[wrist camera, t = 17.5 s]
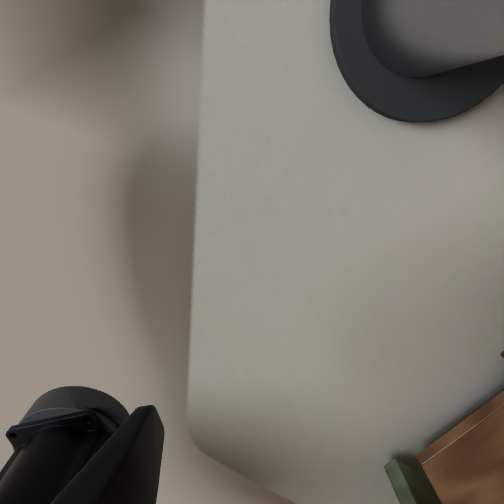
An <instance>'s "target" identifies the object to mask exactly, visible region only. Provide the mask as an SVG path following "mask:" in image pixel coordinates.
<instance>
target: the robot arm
mask: <svg viewBox="0 0 504 504" xmlns="http://www.w3.org/2000/svg"><path fill="white" fill-rule="evenodd" d="M88 417H89V418H88ZM6 437H7V438H8V440H9V441H10V442H11V444H12V446H13V447H14V448H15V451H14V453H13V454H12V456H11V457H10V459H9V460H8V461H7V463H6V464H5V466H4V467H3V469H2V470H1V472H0V504H156V498H157V492H158V484H159V475H160V466H161V459H162V451H163V442H164V427H163V424H162V421H161V419H160V417H159V414H158V412H157V410H156V408H155V406H153V405H148V406H141V407H138V408H137V409H135V411H134V412H133V413H132V414H131V415H130V416H129V417H128V418H127V419H126V420H125V422H124V423H123V424H122V425H121V426H120V427H119V428H118V429H117V430H116V432H115V433H114V434H113V435H112V436H111V437H110V438H109V436H108V435H107V433H106V431H105V429H104V427H103V425H102V424H101V422H100V420H99V418H98V416H97V414H96V413H95V412H94V411H92V410H84V411H79V412H75V413H70V414H65V415H61V416H56V417H51V418H47V419H42V420H37V421H33V422H28V423H23V424H19V425H14V426H11V427H10V428H9V430H8V431H7V433H6Z"/></svg>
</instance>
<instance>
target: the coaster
mask: <svg viewBox="0 0 504 504" xmlns="http://www.w3.org/2000/svg"><path fill="white" fill-rule="evenodd" d="M330 34H331V41H332V46H333V52H334V55H335V58H336V61H337V65H338V67H339V69H340V71H341V73H342V76H343V78H344V79H345V81H346V83H347V84H348V86H349V87H350V89H351V90H352V91H353V92H354V94H355V95H356V96H357V97H358V98H359V99H360V100H361V101H362V102H363V103H364V104H365V105H366V106H368V107H369V108H371V109H372V110H374V111H375V112H377V113H379V114H381V115H383V116H385V117H388V118H391V119H394V120H398V121H404V122H431V121H437V120H443V119H446V118H449V117H453V116H456V115H458V114H460V113H462V112H465V111H467V110H469V109H470V108H472V107H474V106H475V105H477V104H479V103H480V102H482V101H483V100H484V99H486V98H487V97H488V96H490V95H491V94H492V93H493V92H494V91H495V90H497V89H498V88H499V87H500V86H501V85H502V84H503V83H504V55H502V56H498V57H495V58H491V59H488V60H484V61H480V62H477V63H473V64H470V65H466V66H463V67H459V68H456V69H452V70H449V71H445V72H442V73H438V74H435V75H431V76H427V77H420V78H411V77H405V76H401V75H398V74H396V73H394V72H392V71H390V70H388V69H387V68H386V67H384V66H383V65H382V64H381V63H380V62H379V61H378V60H377V58H376V57H375V56H374V54H373V53H372V51H371V49H370V47H369V46H368V43H367V40H366V38H365V34H364V30H363V24H362V0H331V2H330Z"/></svg>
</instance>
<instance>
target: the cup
mask: <svg viewBox="0 0 504 504" xmlns="http://www.w3.org/2000/svg"><path fill="white" fill-rule="evenodd" d="M362 24H363V30H364V34H365V38H366V40H367V43H368V46H369V47H370V49H371V51H372V53H373V54H374V56H375V57H376V58H377V60H378V61H379V62H380V63H381V64H382V65H383V66H384V67H386V68H387V69H388V70H390V71H392V72H394V73H396V74H398V75H401V76H405V77H411V78H420V77H427V76H431V75H435V74H438V73H442V72H445V71H449V70H452V69H456V68H459V67H463V66H466V65H470V64H473V63H477V62H480V61H484V60H488V59H491V58H495V57H498V56H502V55H504V0H362Z"/></svg>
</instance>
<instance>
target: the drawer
mask: <svg viewBox="0 0 504 504" xmlns="http://www.w3.org/2000/svg"><path fill="white" fill-rule="evenodd" d="M416 457H417V459H418V461H419V463H420V464H421V466H422V468H423V470H424V471H425V473H426V475H427V477H428V479H429V480H427V479H426V478H424V477H423V476H421V475H420V474H418V473H417V472H415V471H414V470H412V469H410V468H409V467H407V466H406V465H404V464H403V463H401V462H400V461H398V460H397V459H393V460H392V461H391V462H389V463H388V464H387V465H385V466H384V468H385V470H386V473H387V475H388V477H389V480H390V482H391V484H392V486H393V489H394V491H395V493H396V496H397V498H398V500H399V502H400V504H504V390H503V391H502V392H501V393H499V394H498V395H497V396H495V397H494V398H493V399H491V400H490V401H489V402H487V403H486V404H484V405H483V406H482V407H480V408H479V409H478V410H476V411H475V412H474V413H472V414H471V415H470V416H468V417H467V418H466V419H464V420H463V421H462V422H460V423H459V424H458V425H456V426H455V427H454V428H452V429H451V430H450V431H448V432H447V433H446V434H444V435H443V436H442V437H440V438H439V439H438V440H436V441H435V442H433V443H432V444H431V445H429V446H428V447H427V448H425V449H424V450H423V451H421V452H420V453H419V454H417V455H416Z"/></svg>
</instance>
